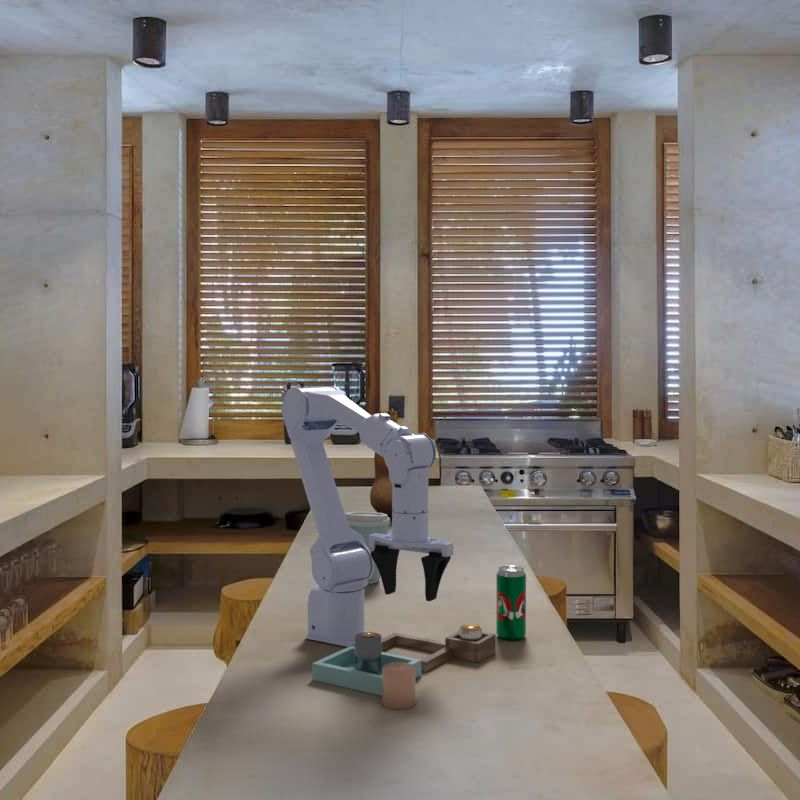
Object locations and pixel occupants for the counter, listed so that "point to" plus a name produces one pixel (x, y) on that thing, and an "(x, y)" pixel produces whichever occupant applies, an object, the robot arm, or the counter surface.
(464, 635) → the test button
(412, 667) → the peach glossy rounded part
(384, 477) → the butternut squash
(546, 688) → the counter surface
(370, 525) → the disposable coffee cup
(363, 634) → the cell
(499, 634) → the soda can
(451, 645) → the square wooden box
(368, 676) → the teal tray
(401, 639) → the cradle
